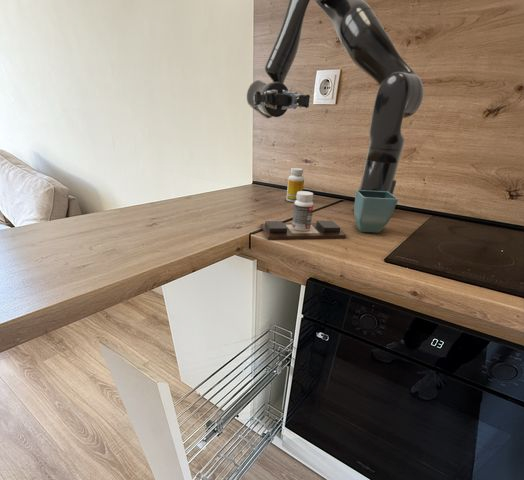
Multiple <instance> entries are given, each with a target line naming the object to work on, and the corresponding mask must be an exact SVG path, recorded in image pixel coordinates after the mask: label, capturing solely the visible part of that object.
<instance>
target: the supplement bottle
mask: <svg viewBox="0 0 524 480" xmlns="http://www.w3.org/2000/svg"><path fill="white" fill-rule="evenodd" d="M303 175H304V168H300V167H291V169H290V175H289V176H288V178H287V187H286V198H285V200H286V201H287V202H290V203H295V201H296V200H297V199H296V195H297V192H299V191H304V184H305V177H304V176H303Z"/></svg>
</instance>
